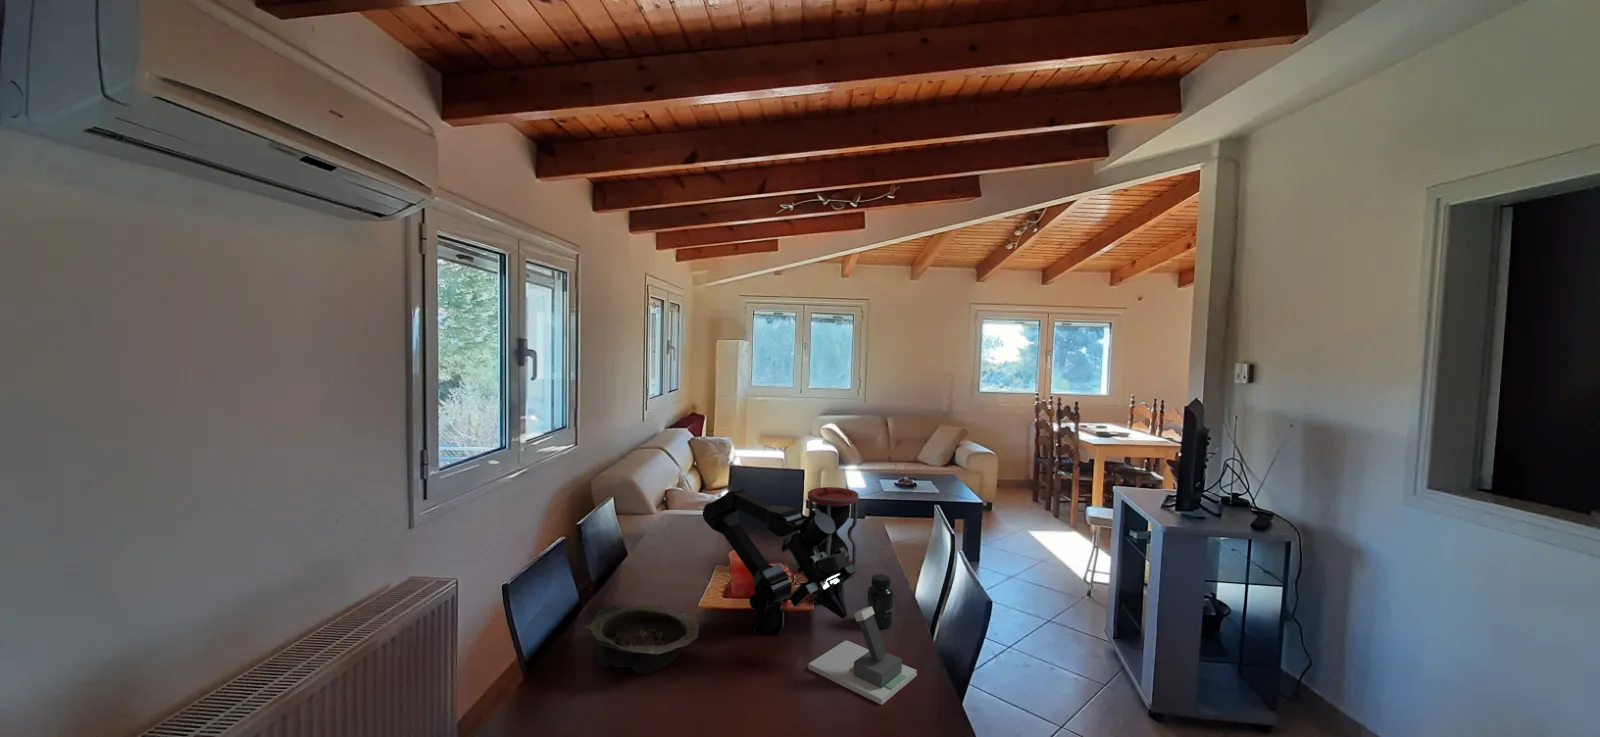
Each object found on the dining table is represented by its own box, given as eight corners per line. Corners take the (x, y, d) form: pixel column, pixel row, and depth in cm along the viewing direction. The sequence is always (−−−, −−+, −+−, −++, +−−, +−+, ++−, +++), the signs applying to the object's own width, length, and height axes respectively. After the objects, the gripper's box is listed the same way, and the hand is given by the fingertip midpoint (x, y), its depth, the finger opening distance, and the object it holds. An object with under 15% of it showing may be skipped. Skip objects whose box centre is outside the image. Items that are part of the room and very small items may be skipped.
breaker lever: (871, 661, 123) (854, 614, 126) (881, 654, 126) (864, 608, 129) (878, 660, 122) (861, 612, 125) (889, 653, 125) (871, 606, 128)
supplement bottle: (892, 631, 146) (893, 584, 146) (865, 627, 148) (866, 581, 147) (893, 618, 153) (894, 573, 152) (867, 615, 154) (868, 571, 154)
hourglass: (860, 564, 190) (861, 488, 189) (853, 583, 175) (855, 501, 174) (811, 559, 194) (813, 485, 193) (801, 577, 178) (802, 497, 177)
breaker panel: (808, 668, 128) (808, 650, 128) (846, 644, 139) (846, 627, 139) (881, 705, 116) (882, 684, 116) (916, 675, 126) (917, 656, 126)
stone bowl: (560, 671, 125) (562, 628, 125) (633, 628, 148) (635, 592, 149) (657, 697, 116) (659, 650, 116) (719, 647, 139) (720, 608, 140)
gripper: (800, 548, 126) (841, 614, 119) (851, 529, 140) (889, 586, 133) (774, 575, 131) (811, 639, 125) (825, 553, 146) (860, 610, 139)
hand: (845, 617), depth 130 cm, fingers closed
